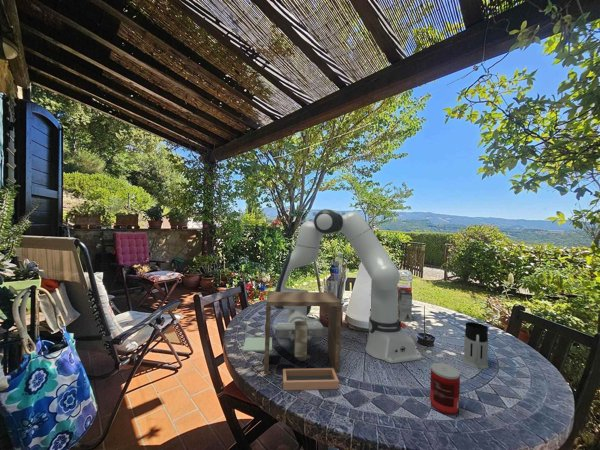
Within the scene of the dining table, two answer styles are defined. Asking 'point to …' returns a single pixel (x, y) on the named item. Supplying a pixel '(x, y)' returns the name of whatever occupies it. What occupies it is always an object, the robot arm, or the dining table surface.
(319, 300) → the walnut tunnel
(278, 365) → the dining table surface
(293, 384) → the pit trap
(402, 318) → the coffee box
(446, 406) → the canned food
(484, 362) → the glass holder
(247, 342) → the sage pad
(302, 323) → the ash block
